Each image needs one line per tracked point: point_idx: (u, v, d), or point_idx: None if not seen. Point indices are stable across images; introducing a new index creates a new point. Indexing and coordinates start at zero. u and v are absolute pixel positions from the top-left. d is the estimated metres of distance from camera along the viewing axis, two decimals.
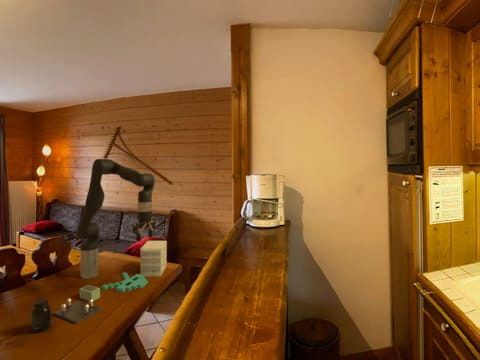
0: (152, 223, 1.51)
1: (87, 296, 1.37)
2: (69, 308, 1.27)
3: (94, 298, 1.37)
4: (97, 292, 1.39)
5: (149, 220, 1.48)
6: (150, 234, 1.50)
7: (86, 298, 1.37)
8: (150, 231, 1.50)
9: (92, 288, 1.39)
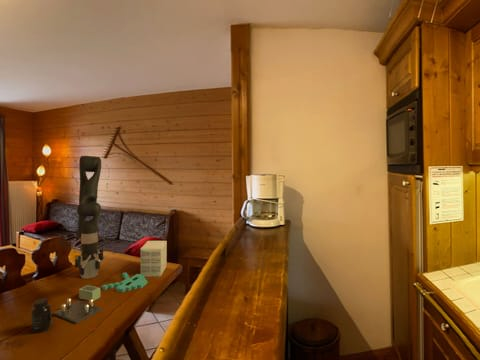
0: (99, 254, 1.44)
1: (87, 296, 1.37)
2: (69, 308, 1.27)
3: (95, 298, 1.38)
4: (98, 292, 1.39)
5: (95, 251, 1.40)
6: (97, 266, 1.42)
7: (86, 298, 1.37)
8: (97, 262, 1.42)
9: (92, 288, 1.39)
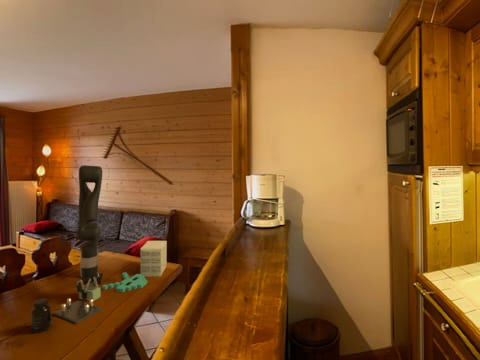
0: (98, 278, 1.44)
1: (87, 296, 1.37)
2: (69, 308, 1.27)
3: (95, 297, 1.38)
4: (98, 291, 1.39)
5: (95, 274, 1.41)
6: None
7: (87, 298, 1.37)
8: None
9: (92, 287, 1.39)
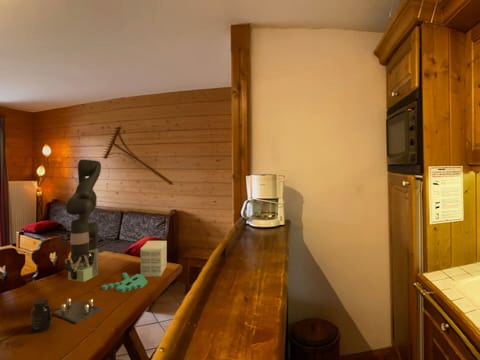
0: (90, 257, 1.31)
1: (77, 276, 1.24)
2: (69, 308, 1.27)
3: (86, 278, 1.24)
4: (89, 271, 1.26)
5: (86, 252, 1.28)
6: None
7: (77, 278, 1.24)
8: None
9: (83, 267, 1.26)
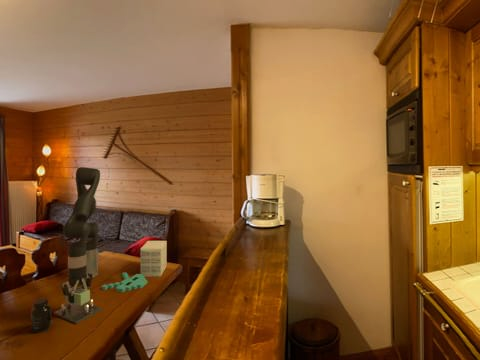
0: (88, 279, 1.30)
1: (75, 300, 1.23)
2: (69, 308, 1.27)
3: (84, 301, 1.23)
4: (87, 294, 1.25)
5: (84, 275, 1.27)
6: None
7: (74, 302, 1.23)
8: None
9: (81, 290, 1.25)
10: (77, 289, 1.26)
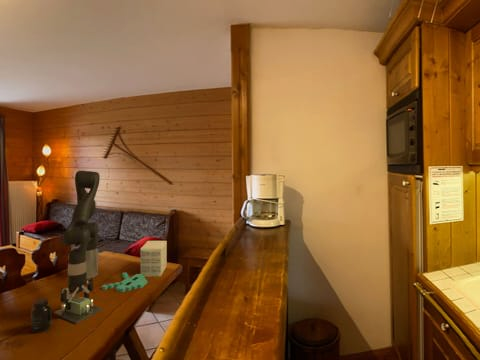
0: (89, 284, 1.30)
1: (74, 309, 1.23)
2: None
3: (83, 310, 1.23)
4: (86, 303, 1.25)
5: (83, 282, 1.27)
6: None
7: (74, 311, 1.23)
8: (86, 294, 1.29)
9: (80, 299, 1.25)
10: (77, 298, 1.26)
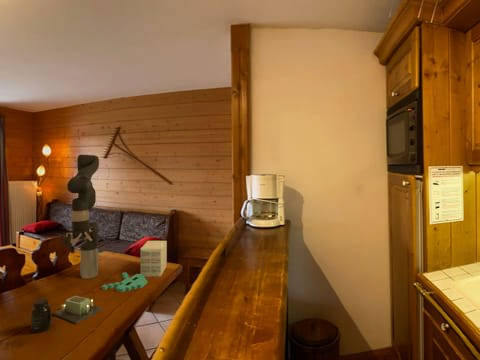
0: (91, 232, 1.39)
1: (74, 309, 1.23)
2: None
3: (83, 310, 1.23)
4: (86, 303, 1.25)
5: (86, 230, 1.36)
6: (88, 244, 1.38)
7: (74, 311, 1.23)
8: (88, 241, 1.38)
9: (80, 299, 1.25)
10: (77, 298, 1.26)
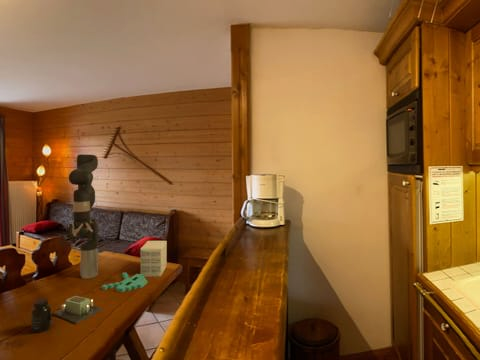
0: (92, 224, 1.42)
1: (74, 309, 1.23)
2: None
3: (83, 310, 1.23)
4: (86, 303, 1.25)
5: (87, 221, 1.39)
6: (89, 235, 1.41)
7: (74, 311, 1.23)
8: (89, 232, 1.41)
9: (80, 299, 1.25)
10: (77, 298, 1.26)
